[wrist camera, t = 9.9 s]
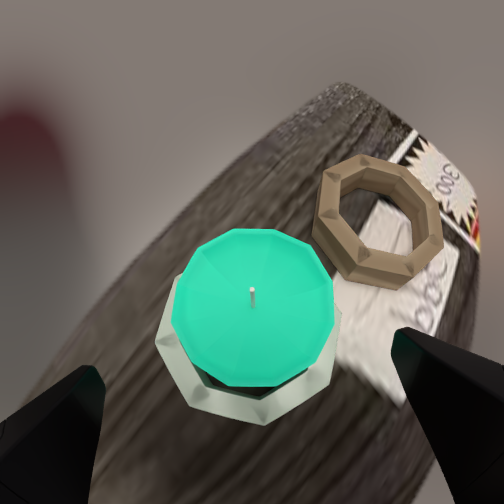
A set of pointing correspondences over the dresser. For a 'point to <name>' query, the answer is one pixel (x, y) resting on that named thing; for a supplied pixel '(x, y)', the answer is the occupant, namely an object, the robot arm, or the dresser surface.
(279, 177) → the dresser surface
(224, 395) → the socket
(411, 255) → the socket
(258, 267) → the candle
